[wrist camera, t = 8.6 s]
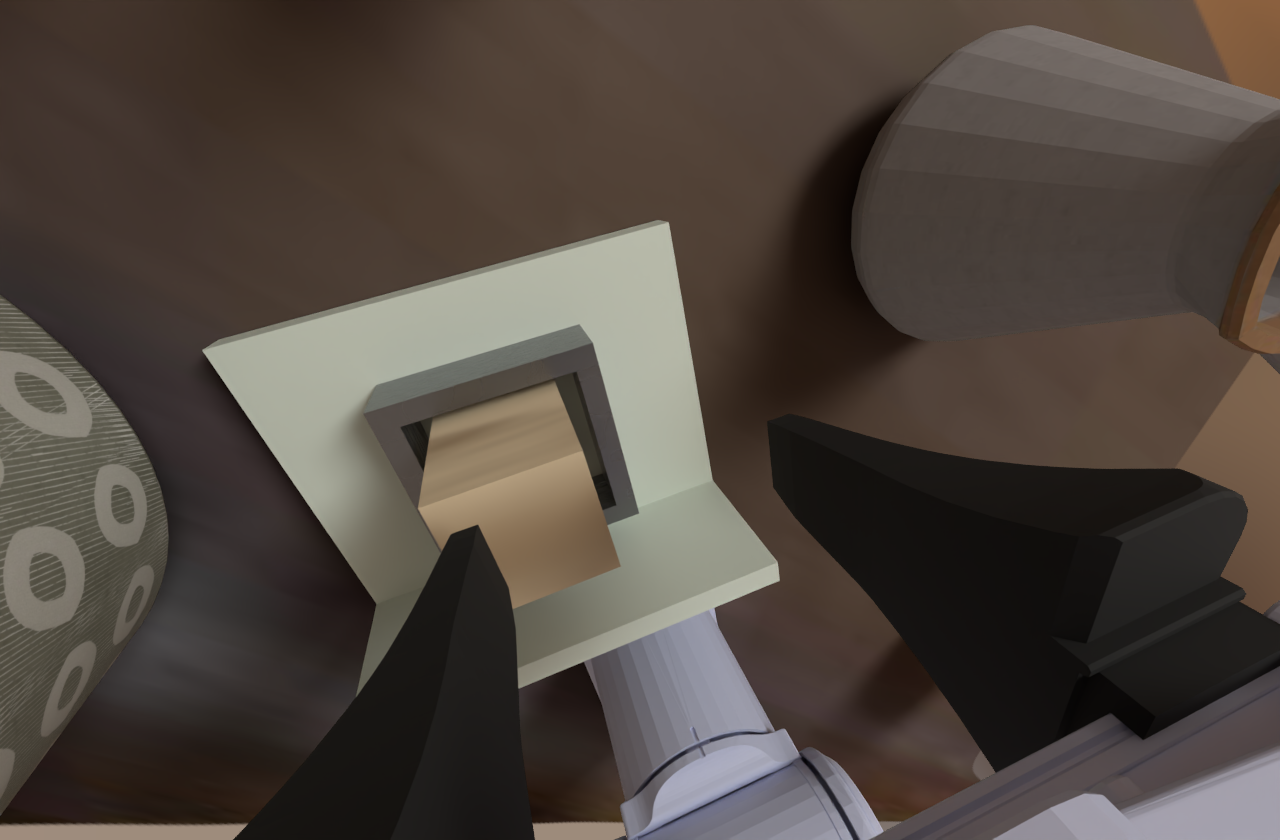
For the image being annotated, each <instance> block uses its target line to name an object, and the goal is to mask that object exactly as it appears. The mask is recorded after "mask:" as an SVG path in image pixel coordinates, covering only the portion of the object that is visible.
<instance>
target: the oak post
mask: <svg viewBox="0 0 1280 840" xmlns="http://www.w3.org/2000/svg"><path fill="white" fill-rule="evenodd" d="M418 510H419V511H420V513H421V515H422V517H423V519H424V520H425V522H426V524H427V526H428V527H429V529H430V531H431V533H432V534H433V536H434V538H435V540H436V541H437V543H438V545H439V547H440V549H441V550H443V548H444V546H445V544H446V542H447V540H448V538H449V537H450V535H451V534H452V533H455V532H458V531H461V530H464V529H466V528H469V527H472V526H475V525H479V527H480V529H481V532H482V534H483V536H484V538H485V540H486V542H487V544H488V546H489V548H490V550H491V552H492V554H493V556H494V558H495V560H496V562H497V565H498V567H499V569H500V571H501V573H502V575H503V577H504V579H505V581H506V583H507V585H508V587H509V592H510V597H511V603H512V608H513V609H515V608H517V607H520V606H522V605H525V604H527V603H530V602H532V601H535V600H537V599H540V598H542V597H545V596H547V595H550V594H553V593H555V592H558V591H560V590H563V589H565V588H568V587H570V586H573V585H575V584H578V583H580V582H583V581H585V580H588V579H591V578H593V577H596V576H598V575H601V574H603V573H606V572H608V571H611V570H613V569H616V568H618V567H621V565H620V562H619V559H618V556H617V553H616V550H615V547H614V544H613V541H612V538H611V535H610V532H609V529H608V526H607V523H606V520H605V517H604V513H603V510H602V507H601V504H600V501H599V498H598V495H597V492H596V489H595V486H594V483H593V480H592V477H591V474H590V471H589V468H588V465H587V462H586V459H585V456H584V453H583V450H582V448H581V445H580V443H579V440H578V438H577V435H576V433H575V430H574V428H573V425H572V423H571V420H570V418H569V415H568V413H567V410H566V408H565V405H564V403H563V400H562V398H561V396H560V393H559V391H558V388H557V386H556V383H555V381H554V379H551V380H547V381H544V382H541V383H538V384H535V385H532V386H528V387H525V388H522V389H519V390H516V391H513V392H509V393H506V394H503V395H500V396H497V397H494V398H490V399H487V400H484V401H481V402H478V403H474V404H471V405H468V406H465V407H462V408H459V409H455V410H452V411H449V412H446V413H443V414H440V415H436V416H433V419H432V425H431V431H430V437H429V444H428V450H427V456H426V462H425V468H424V474H423V480H422V486H421V492H420V499H419V505H418Z"/></svg>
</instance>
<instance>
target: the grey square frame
mask: <svg viewBox="0 0 1280 840" xmlns="http://www.w3.org/2000/svg"><path fill="white" fill-rule="evenodd" d="M570 373H572V374H573V377H574V381H575V384H576V387H577V391H578V394H579V397H580V401H581V404H582V407H583V410H584V414H585V417H586V420H587V424H588V427H589V430H590V434H591V437H592V440H593V443H594V447H595V450H596V453H597V457H598V460H599V463H600V467H601V470H602V474H599V475H597V476H594V477H592V480H593V483H594V486H595V489H596V492H597V495H598V498H599V501H600V504H601V507H602V510H603V513H604V517H605V520H606V523H607V525H610V524H612V523H615V522H618V521H620V520H623V519H626V518H628V517H631V516H634V515H636V514H639V511H638V507H637V503H636V500H635V496H634V492H633V489H632V485H631V481H630V477H629V474H628V470H627V466H626V463H625V459H624V455H623V452H622V448H621V444H620V441H619V437H618V433H617V430H616V426H615V422H614V419H613V415H612V411H611V408H610V404H609V400H608V396H607V393H606V389H605V385H604V382H603V378H602V374H601V371H600V367H599V363H598V360H597V356H596V352H595V349H594V345H593V342H592V341H591V340H590V338H589V337H588V335H587V334H586V333H585V331H584V330H583V328H582V327H581V326H580V324H578V325H575V326H571V327H568V328H565V329H561V330H558V331H555V332H551V333H548V334H545V335H541V336H538V337H535V338H531V339H528V340H525V341H521V342H518V343H515V344H511V345H508V346H505V347H501V348H498V349H495V350H491V351H488V352H485V353H481V354H478V355H475V356H471V357H468V358H465V359H461V360H458V361H455V362H451V363H448V364H445V365H441V366H438V367H435V368H431V369H428V370H425V371H421V372H418V373H415V374H411V375H408V376H405V377H401V378H398V379H395V380H391V381H388V382H385V383H381V384H378V385H376V387H375V389H374V391H373V393H372V395H371V398H370V400H369V402H368V404H367V406H366V408H365V411H364V413H363V414H364V416H365V418H366V420H367V422H368V423H369V425H370V427H371V429H372V431H373V432H374V434H375V436H376V438H377V440H378V441H379V443H380V445H381V447H382V449H383V450H384V452H385V454H386V456H387V458H388V460H389V461H390V463H391V465H392V467H393V469H394V470H395V472H396V474H397V476H398V478H399V479H400V481H401V483H402V485H403V487H404V488H405V490H406V492H407V494H408V496H409V497H410V499H411V501H412V503H413V505H414V506H415V508H416V510H417V512H418V514H419V515H420V517H421V519H422V521H423V523H424V524H425V526H426V528H427V530H428V532H429V533H430V535H431V537H432V539H433V541H434V543H435V544H436V546H437V548H438V550H439V552H440V553H441V552H442V550H441V549H440V547H439V545H438V543H437V541H436V540H435V538H434V536H433V534H432V533H431V531H430V529H429V527H428V526H427V524H426V522H425V520H424V519H423V517H422V515H421V513H420V511H419V510H418V505H419V499H420V492H421V486H422V480H423V474H424V468H425V462H426V456H427V450H428V444H429V438H428V436H427V434H426V432H425V430H424V428H423V426H422V424H421V422H420V421H421V420H424V419H427V418H430V417H433V416H436V415H440V414H443V413H446V412H449V411H452V410H455V409H459V408H462V407H465V406H468V405H471V404H474V403H478V402H481V401H484V400H487V399H490V398H494V397H497V396H500V395H503V394H506V393H509V392H513V391H516V390H519V389H522V388H525V387H528V386H532V385H535V384H538V383H541V382H544V381H547V380H551V379H554V378H557V377H560V376H563V375H566V374H570Z"/></svg>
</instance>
